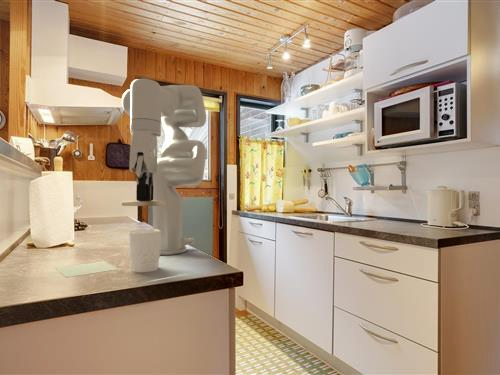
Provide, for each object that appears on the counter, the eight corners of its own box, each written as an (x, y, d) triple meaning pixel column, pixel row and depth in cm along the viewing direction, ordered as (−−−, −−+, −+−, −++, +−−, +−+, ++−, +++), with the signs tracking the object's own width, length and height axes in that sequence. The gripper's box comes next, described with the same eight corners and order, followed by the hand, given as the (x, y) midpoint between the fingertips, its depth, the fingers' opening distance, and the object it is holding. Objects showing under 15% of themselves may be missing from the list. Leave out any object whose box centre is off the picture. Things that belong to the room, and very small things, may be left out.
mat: (104, 262, 89) (104, 261, 89) (119, 270, 80) (119, 268, 80) (55, 269, 81) (55, 267, 81) (65, 279, 72) (65, 277, 72)
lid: (155, 204, 88) (155, 186, 88) (174, 205, 80) (174, 185, 80) (115, 205, 81) (115, 185, 81) (132, 206, 73) (132, 184, 73)
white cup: (143, 276, 75) (143, 234, 75) (121, 271, 79) (121, 232, 79) (167, 269, 82) (167, 230, 82) (145, 265, 86) (146, 228, 86)
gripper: (139, 134, 89) (138, 199, 88) (120, 121, 72) (119, 201, 72) (166, 135, 89) (165, 199, 89) (153, 122, 73) (152, 201, 73)
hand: (145, 199), depth 80 cm, fingers closed on lid, 3 cm apart
